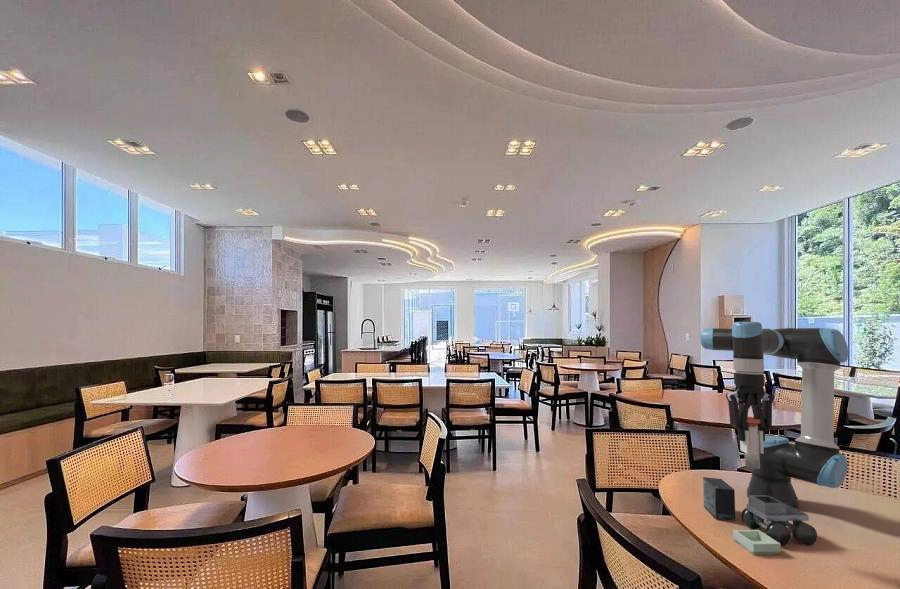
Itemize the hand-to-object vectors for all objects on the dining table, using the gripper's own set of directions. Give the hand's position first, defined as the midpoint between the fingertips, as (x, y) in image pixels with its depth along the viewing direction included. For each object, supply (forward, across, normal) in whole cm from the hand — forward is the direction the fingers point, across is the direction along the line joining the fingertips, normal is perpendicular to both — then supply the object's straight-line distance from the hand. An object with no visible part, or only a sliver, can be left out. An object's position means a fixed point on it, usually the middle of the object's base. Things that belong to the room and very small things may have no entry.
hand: (751, 452), depth 123 cm
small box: (+27, -4, -21) cm, 35 cm away
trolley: (+27, -12, -6) cm, 30 cm away
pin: (+4, 0, 0) cm, 4 cm away
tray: (+27, 0, 0) cm, 27 cm away
